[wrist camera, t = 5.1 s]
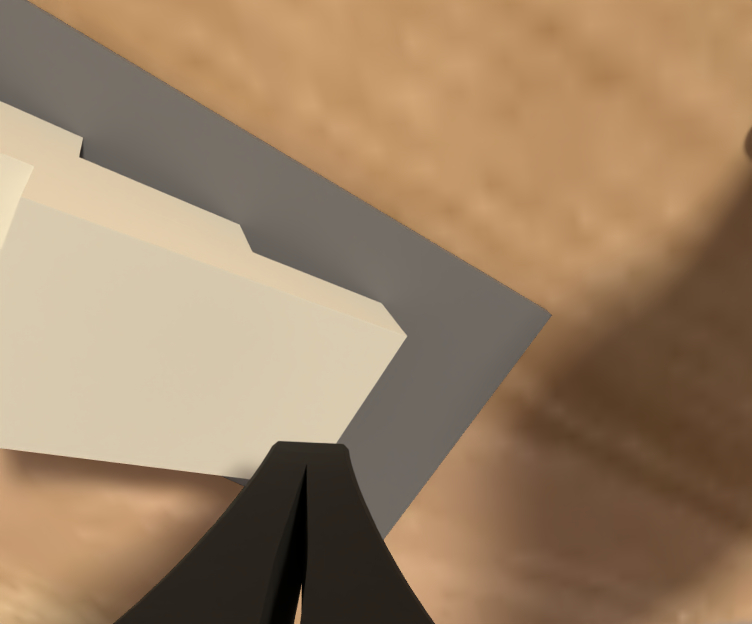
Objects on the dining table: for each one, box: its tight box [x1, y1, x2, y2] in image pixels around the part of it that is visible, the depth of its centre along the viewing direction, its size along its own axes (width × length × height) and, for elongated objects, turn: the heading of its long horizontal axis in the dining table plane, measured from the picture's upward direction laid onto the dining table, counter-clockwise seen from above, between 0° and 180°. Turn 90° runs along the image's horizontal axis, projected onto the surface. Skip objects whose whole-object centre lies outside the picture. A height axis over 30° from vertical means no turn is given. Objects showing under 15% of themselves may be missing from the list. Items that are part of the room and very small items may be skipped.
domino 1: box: [0, 124, 252, 252], centre depth 11 cm, size 2×5×8 cm
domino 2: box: [0, 166, 407, 479], centre depth 12 cm, size 2×5×8 cm
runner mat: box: [0, 0, 552, 540], centre depth 13 cm, size 22×9×1 cm, turn 59°
